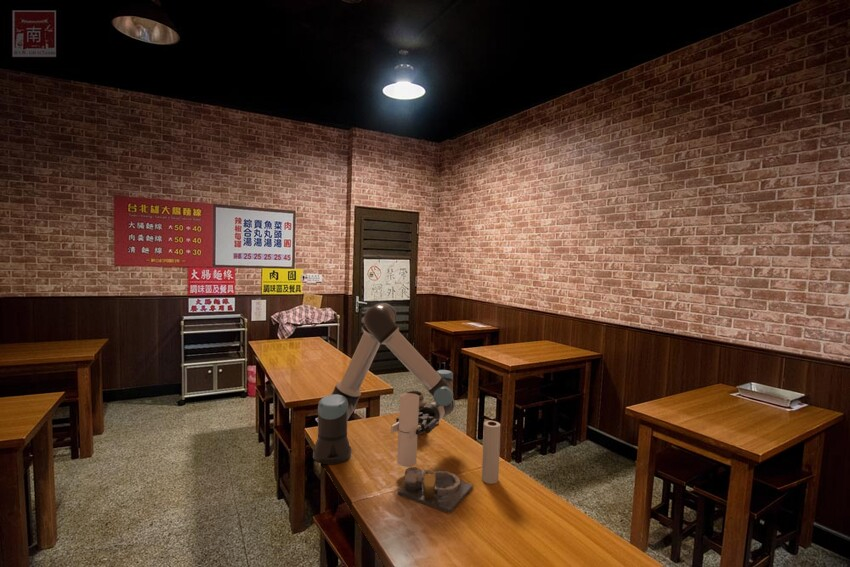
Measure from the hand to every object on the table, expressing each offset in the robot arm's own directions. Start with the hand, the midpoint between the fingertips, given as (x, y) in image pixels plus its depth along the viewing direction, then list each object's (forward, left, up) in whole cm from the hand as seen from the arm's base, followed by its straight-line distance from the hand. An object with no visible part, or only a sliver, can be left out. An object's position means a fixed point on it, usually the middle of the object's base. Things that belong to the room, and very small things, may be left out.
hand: (400, 432), depth 151 cm
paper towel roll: (+28, +19, -18) cm, 38 cm away
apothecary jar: (-19, +41, -18) cm, 49 cm away
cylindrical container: (0, +5, -13) cm, 14 cm away
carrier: (+15, +1, -18) cm, 23 cm away
